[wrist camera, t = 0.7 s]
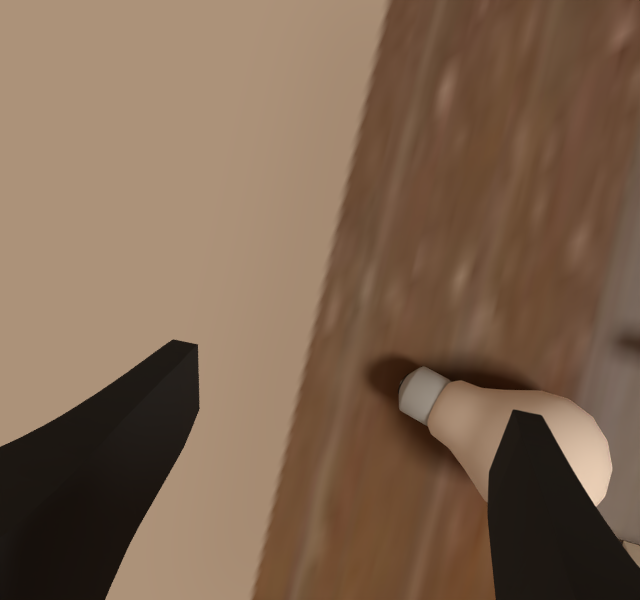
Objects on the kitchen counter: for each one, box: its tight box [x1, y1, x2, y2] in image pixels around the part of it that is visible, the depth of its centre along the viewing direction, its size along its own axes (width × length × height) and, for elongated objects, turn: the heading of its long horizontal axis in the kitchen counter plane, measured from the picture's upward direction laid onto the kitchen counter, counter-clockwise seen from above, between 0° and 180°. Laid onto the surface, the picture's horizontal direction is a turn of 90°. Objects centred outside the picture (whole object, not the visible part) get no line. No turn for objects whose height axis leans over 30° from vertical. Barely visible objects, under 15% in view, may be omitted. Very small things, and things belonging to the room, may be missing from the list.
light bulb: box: [398, 366, 612, 506], centre depth 29 cm, size 7×7×11 cm
